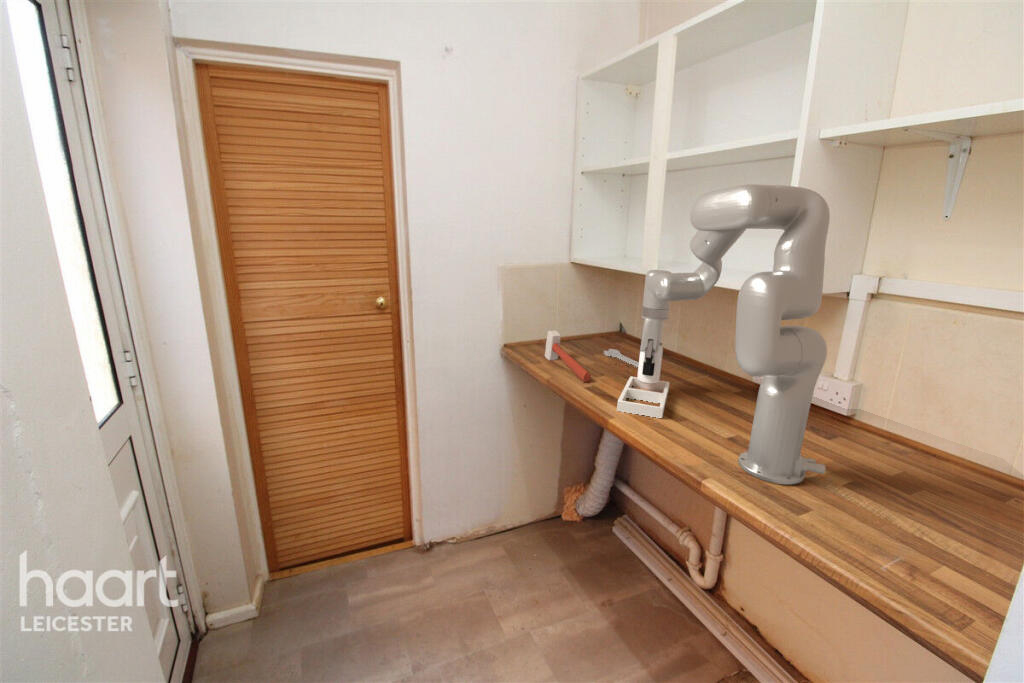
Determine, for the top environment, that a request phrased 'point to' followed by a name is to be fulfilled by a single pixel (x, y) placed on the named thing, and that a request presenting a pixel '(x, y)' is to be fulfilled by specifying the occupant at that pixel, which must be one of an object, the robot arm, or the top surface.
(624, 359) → the adjustable wrench
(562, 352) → the mallet
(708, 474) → the top surface
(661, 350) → the can
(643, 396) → the caddy
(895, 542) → the top surface
